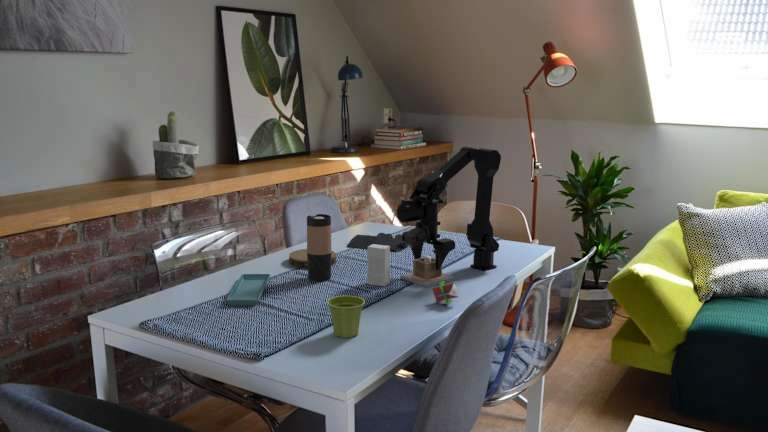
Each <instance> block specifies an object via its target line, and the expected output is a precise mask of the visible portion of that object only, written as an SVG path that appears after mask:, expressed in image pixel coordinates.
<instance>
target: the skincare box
mask: <svg viewBox="0 0 768 432" xmlns="http://www.w3.org/2000/svg"><path fill="white" fill-rule="evenodd" d="M366 262H367V284H368V285H371V286H380V287H386V286H388V285H389V284H390V283H391V252H390V246H386V245H377V244H372V245H370V246H368V247H367V261H366Z"/></svg>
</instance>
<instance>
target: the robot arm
mask: <svg viewBox="0 0 768 432" xmlns="http://www.w3.org/2000/svg"><path fill="white" fill-rule="evenodd" d="M501 160H502V155H501V153H500V152H499V151H498V150H496V149H492V148H483V147H481V148H475V147H472V146H462V147H461V148H460V149H459V151H458V152H457V153H456V154H455V155H453V156H452V157H451V158H450V159H449V160H448V161H446V162H445V163H444V164H443V165H441V167H440V168H438V169H436V171H434V172H431V173H428V174H426V175H423V176H422V177H421V178H419V180H417V182H416V186H415V188H414V190H413V191H412V192H411V195H410V196H409V199H402V200H401V201H400V204H399V205H398V206H397V210H396V217H397V219H398V220H399V221H400V222H401V223H403V224H404V223H411V222H415V221H416V222H415V227H413V228H411V229H409V230H407V231H406V230H405V231H404V232H403V233H402V234H401V235H402V241H406V242H405V244H407V245H408V247H409V248H410V250H411V252H412V255H413V258H414V259H419V258H422V252H423V247H424V243H425V244H429V245H432V248H433V250H432V252H433V254H434V255H435V259H436V270H440V268H441V266H442V267H443V264H444V262H445V260H446V258H447V256H448V255H449V253H450V252H453V250H456V242H455V240H453V239H450V238H447V237H445V238H441V234H439V233H438V229H439V228H438V227H439V226H441V221H439V220H438V219H439V205H441V204H445V203H444V202H445V201H444V200H443V199H441V197H440V196H441V194H442V193H443V192H444V191H445V190H446V188H447V187H446V186H447V184H448V183H449V182H450V180H452V179H453V178H454V177H455V176H456V175H457V174H459V172H461V171H462V170H463V169H464V168H465V167H467V166H468V164H469V163H471V162H472V161H473V162H474V163H473V164H474V165H473V166H474V170H475V171H476V173H477V185H476V197H475V198H476V199H475V206H474V207H475V208H474V217H473V220H472V221H471V223H467V225H466V233H465V236H467V237H466V239H467V241H468V243H469V246H470V248H473V249H474V251H473V261H472V262H473V263H472V264H470V267H471V268H474V269H478V270H480V271H487V270H491V269H494V268H498V267H497V265H496V264H494V260H495V259H494V255H495V254H494V253H495V252H499V248H500V244H499V243H498V241H497V240H496V238H495V237H494V228H493V225H492V222H491V221H490V217H491V206H492V195H493V186H494V177H495V175H496V174H497V173H498V171H499V169H500V164H501V162H502V161H501ZM414 259H413V260H414Z"/></svg>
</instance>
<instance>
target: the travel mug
mask: <svg viewBox="0 0 768 432" xmlns="http://www.w3.org/2000/svg"><path fill="white" fill-rule="evenodd" d="M306 249H307V261H308V268H307V274H308V275H307V277H308V280H310V281H312V282H316V283H317V282H318V283H319V282H327V281H329V280H331V278H332V265H331V254H332V253H331V252H332V251H333V250H332V218H331V216H330V214H323V213H317V214H316V215H310V214H309V215H307V216H306Z"/></svg>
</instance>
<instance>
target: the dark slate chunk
mask: <svg viewBox="0 0 768 432" xmlns="http://www.w3.org/2000/svg"><path fill="white" fill-rule="evenodd" d="M405 242H406V241H402V234H396V235H395V236H394V237H393V235H392V233H385V232H379V233H378V234H377V235H370V234H369V235H367V234H356V235H354V237H352V238H351V239H350V240H349V242H348V243H347V248H348V249H356V250H357V249H358V250H367V247H368V246H370V245H372V244H377V245H386V246H390V253H397V252H399V253H400V252H402V251H403V250H405V249H407V248H408V247H409V246H408V245H407V244H405Z"/></svg>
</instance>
